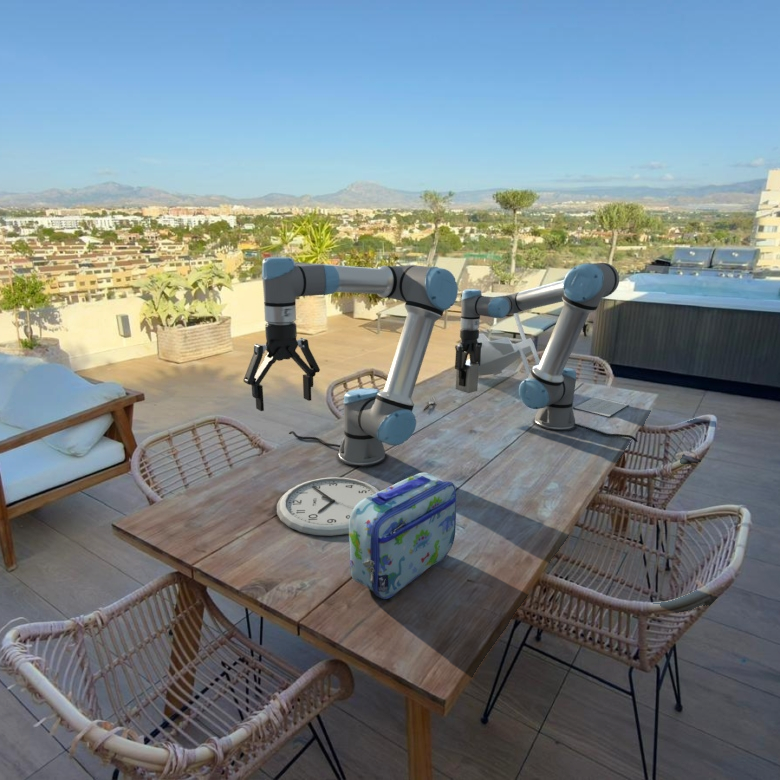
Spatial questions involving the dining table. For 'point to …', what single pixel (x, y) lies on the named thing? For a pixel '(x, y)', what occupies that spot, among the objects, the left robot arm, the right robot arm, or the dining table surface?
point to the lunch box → (401, 532)
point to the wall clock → (323, 505)
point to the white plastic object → (505, 352)
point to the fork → (430, 403)
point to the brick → (469, 378)
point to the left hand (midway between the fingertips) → (284, 404)
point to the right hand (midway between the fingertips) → (466, 384)
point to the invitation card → (601, 406)
